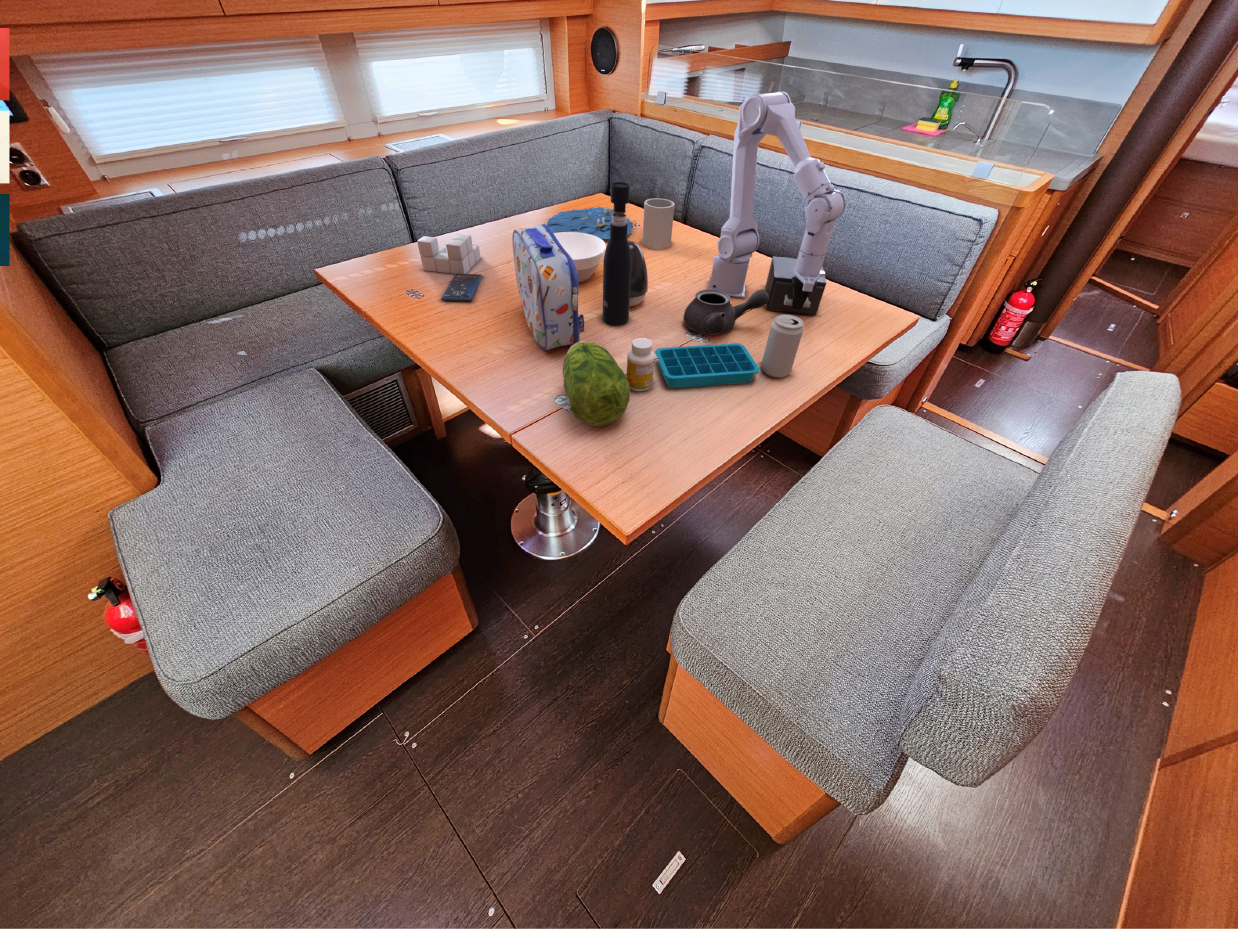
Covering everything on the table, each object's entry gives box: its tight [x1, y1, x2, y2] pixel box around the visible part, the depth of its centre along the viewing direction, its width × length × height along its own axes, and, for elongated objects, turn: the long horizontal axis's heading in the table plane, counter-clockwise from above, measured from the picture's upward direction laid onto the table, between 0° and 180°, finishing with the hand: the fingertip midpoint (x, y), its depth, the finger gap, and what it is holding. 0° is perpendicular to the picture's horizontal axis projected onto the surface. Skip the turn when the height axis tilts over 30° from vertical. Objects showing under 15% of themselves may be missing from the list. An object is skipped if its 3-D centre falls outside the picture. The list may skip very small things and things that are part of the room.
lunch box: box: [512, 223, 585, 351], centre depth 113 cm, size 28×10×22 cm, turn 22°
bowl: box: [554, 231, 607, 283], centre depth 140 cm, size 19×20×8 cm
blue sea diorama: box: [546, 206, 634, 240], centre depth 169 cm, size 30×30×5 cm
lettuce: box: [562, 340, 631, 427], centre depth 97 cm, size 12×21×11 cm, turn 16°
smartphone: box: [440, 273, 483, 302], centre depth 134 cm, size 8×1×15 cm
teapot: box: [683, 288, 769, 336], centre depth 120 cm, size 19×15×10 cm
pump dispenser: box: [628, 240, 649, 307], centre depth 127 cm, size 10×10×15 cm
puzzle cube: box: [416, 233, 482, 275], centre depth 142 cm, size 12×12×8 cm
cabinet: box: [764, 255, 827, 316], centre depth 133 cm, size 14×13×9 cm
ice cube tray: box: [654, 342, 761, 389], centre depth 109 cm, size 12×20×3 cm, turn 100°
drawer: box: [769, 281, 823, 314], centre depth 130 cm, size 17×11×7 cm
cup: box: [641, 197, 676, 250], centre depth 158 cm, size 9×9×12 cm
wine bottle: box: [601, 181, 632, 327], centre depth 115 cm, size 6×6×30 cm
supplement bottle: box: [625, 337, 656, 392], centre depth 102 cm, size 5×5×10 cm
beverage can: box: [760, 314, 805, 379], centre depth 107 cm, size 6×6×12 cm
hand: (796, 308), depth 125 cm, fingers closed, pressing on drawer
